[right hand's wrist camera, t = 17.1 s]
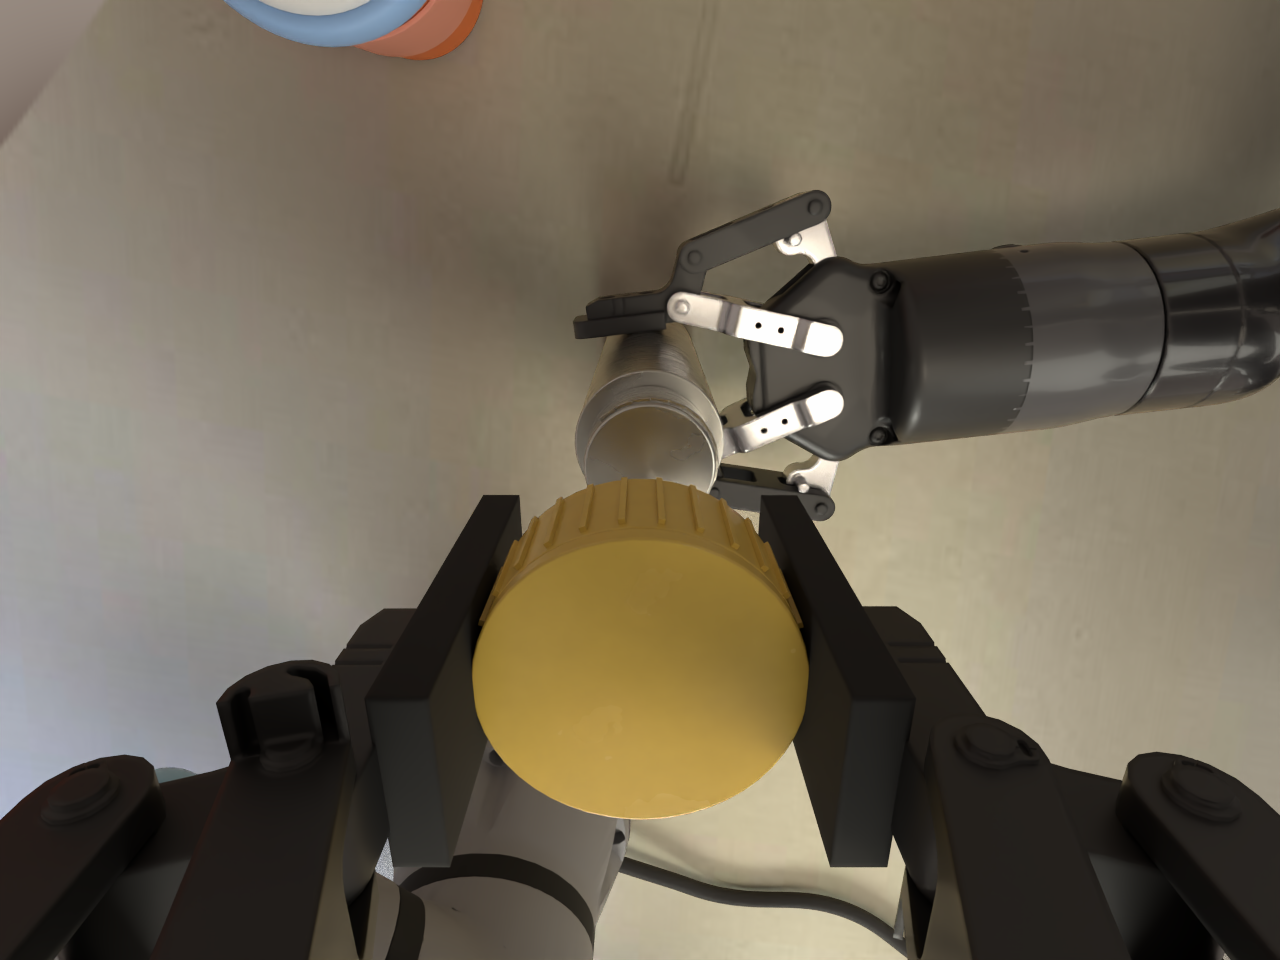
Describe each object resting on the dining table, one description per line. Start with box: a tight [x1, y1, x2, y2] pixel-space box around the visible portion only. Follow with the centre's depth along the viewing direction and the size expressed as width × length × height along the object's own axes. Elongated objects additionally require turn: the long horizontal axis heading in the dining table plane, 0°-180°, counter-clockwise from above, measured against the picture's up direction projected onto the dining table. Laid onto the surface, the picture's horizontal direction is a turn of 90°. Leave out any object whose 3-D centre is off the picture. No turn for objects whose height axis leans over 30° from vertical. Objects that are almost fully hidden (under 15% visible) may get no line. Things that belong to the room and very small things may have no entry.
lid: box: [472, 477, 809, 819], centre depth 11 cm, size 5×5×2 cm
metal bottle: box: [575, 322, 724, 494], centre depth 27 cm, size 5×5×17 cm
